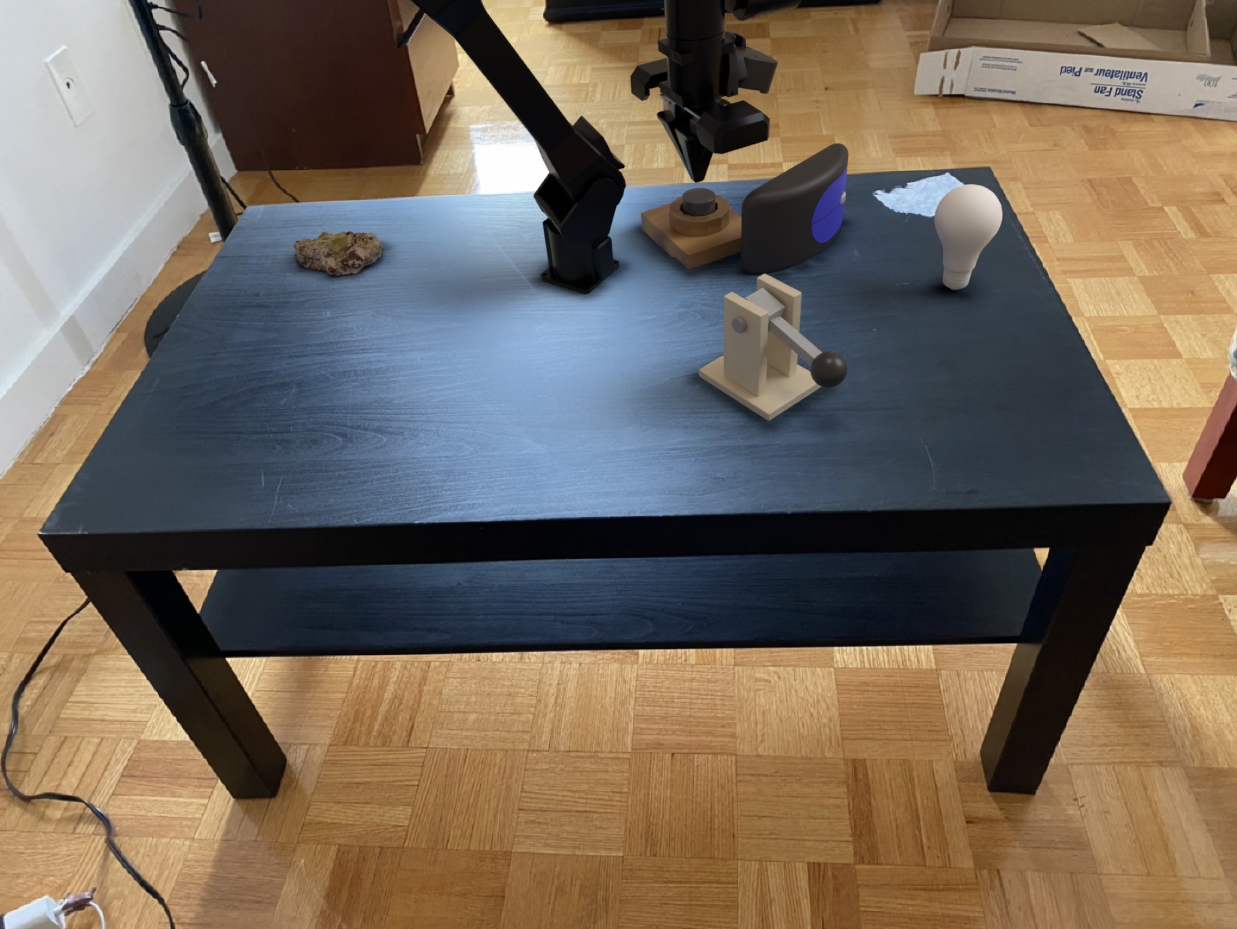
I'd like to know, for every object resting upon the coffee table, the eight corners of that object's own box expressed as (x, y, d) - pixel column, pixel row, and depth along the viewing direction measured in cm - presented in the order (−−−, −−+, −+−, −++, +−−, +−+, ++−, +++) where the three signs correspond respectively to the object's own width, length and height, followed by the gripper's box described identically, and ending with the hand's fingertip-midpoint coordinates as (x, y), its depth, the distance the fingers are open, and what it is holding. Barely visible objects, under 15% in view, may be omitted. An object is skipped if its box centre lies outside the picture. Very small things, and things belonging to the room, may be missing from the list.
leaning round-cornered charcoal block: (770, 290, 99) (773, 207, 92) (736, 275, 101) (737, 193, 95) (864, 228, 106) (873, 147, 100) (830, 215, 109) (837, 136, 102)
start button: (676, 208, 106) (676, 193, 104) (704, 199, 107) (704, 184, 105) (692, 221, 103) (692, 207, 102) (721, 212, 104) (721, 197, 103)
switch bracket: (822, 389, 87) (830, 298, 80) (768, 424, 84) (772, 333, 77) (751, 347, 92) (753, 259, 85) (698, 379, 89) (696, 290, 82)
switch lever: (848, 384, 80) (859, 361, 78) (824, 400, 79) (834, 377, 77) (759, 307, 85) (766, 282, 82) (735, 321, 83) (741, 296, 81)
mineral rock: (391, 219, 111) (366, 237, 104) (398, 256, 113) (374, 276, 106) (305, 224, 113) (275, 241, 106) (313, 260, 115) (284, 279, 108)
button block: (641, 229, 110) (639, 198, 107) (709, 208, 112) (709, 176, 110) (688, 273, 102) (687, 240, 100) (760, 248, 105) (761, 216, 102)
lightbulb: (987, 275, 98) (1010, 175, 90) (983, 308, 94) (1006, 207, 86) (926, 269, 99) (942, 170, 92) (919, 301, 95) (936, 200, 88)
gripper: (821, 39, 88) (810, 195, 98) (717, -12, 100) (718, 131, 111) (716, 67, 85) (717, 225, 95) (623, 11, 97) (633, 156, 108)
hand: (697, 180), depth 102 cm, fingers closed
